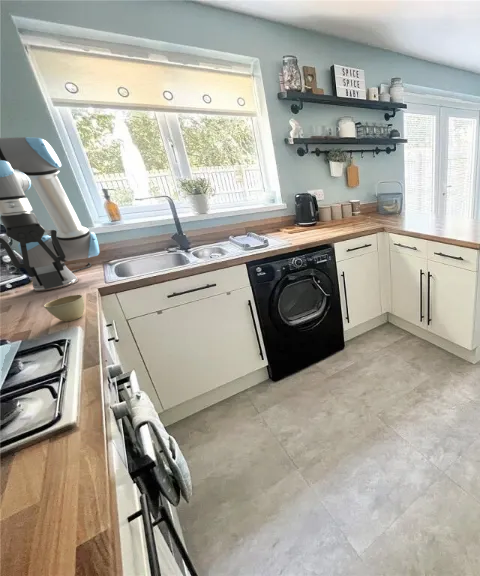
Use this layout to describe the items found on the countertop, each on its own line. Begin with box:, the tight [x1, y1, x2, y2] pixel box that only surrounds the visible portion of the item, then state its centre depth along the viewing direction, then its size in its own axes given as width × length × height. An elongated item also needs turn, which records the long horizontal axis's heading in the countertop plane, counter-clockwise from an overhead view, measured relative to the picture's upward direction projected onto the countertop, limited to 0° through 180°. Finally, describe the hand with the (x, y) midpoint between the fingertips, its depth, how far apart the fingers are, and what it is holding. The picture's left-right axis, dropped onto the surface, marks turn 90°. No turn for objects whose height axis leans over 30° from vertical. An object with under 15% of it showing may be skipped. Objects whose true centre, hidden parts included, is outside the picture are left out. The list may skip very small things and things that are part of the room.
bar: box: [35, 265, 64, 289], centre depth 105 cm, size 14×4×5 cm, turn 49°
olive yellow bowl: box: [43, 294, 85, 323], centre depth 110 cm, size 10×10×7 cm
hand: (52, 282), depth 106 cm, fingers closed on bar, 4 cm apart
